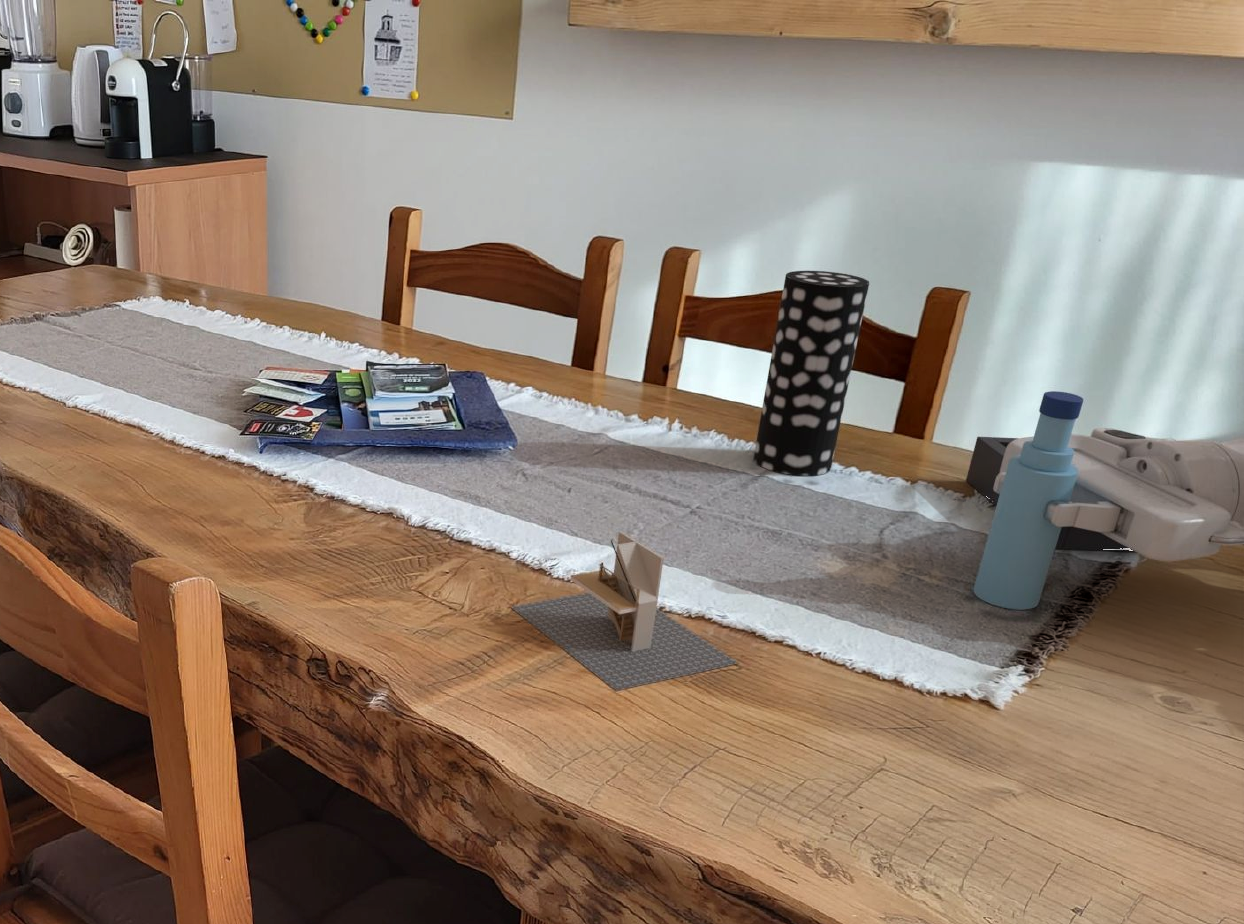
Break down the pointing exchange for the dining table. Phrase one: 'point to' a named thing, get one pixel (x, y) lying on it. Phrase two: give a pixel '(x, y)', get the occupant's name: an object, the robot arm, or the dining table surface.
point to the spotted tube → (809, 371)
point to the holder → (983, 480)
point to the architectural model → (623, 624)
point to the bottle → (1030, 509)
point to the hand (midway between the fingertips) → (1024, 498)
